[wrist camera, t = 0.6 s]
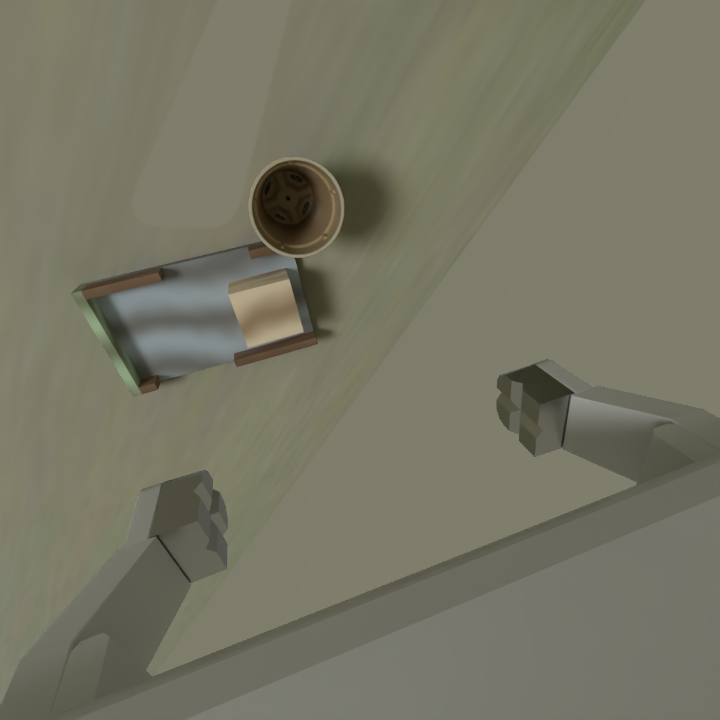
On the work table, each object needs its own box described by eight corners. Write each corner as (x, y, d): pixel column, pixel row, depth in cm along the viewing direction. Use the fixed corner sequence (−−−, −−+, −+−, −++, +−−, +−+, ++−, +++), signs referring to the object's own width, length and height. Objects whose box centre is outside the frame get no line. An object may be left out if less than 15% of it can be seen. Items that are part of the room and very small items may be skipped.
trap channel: (80, 284, 43) (70, 293, 41) (288, 235, 47) (291, 240, 44) (138, 383, 51) (133, 396, 48) (313, 334, 54) (317, 343, 52)
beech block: (228, 282, 47) (228, 294, 43) (284, 268, 48) (289, 278, 44) (246, 332, 50) (248, 347, 47) (298, 318, 52) (303, 332, 48)
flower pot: (325, 240, 49) (342, 258, 41) (248, 239, 46) (251, 258, 39) (328, 156, 44) (347, 160, 37) (242, 150, 41) (245, 152, 34)
